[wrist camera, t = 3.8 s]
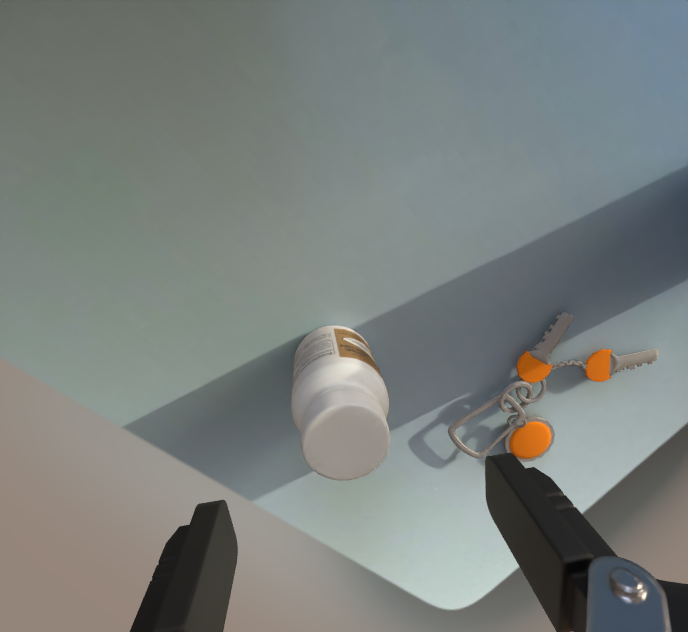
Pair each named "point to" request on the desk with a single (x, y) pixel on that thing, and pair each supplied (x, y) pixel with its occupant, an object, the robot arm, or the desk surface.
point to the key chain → (533, 432)
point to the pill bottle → (339, 404)
